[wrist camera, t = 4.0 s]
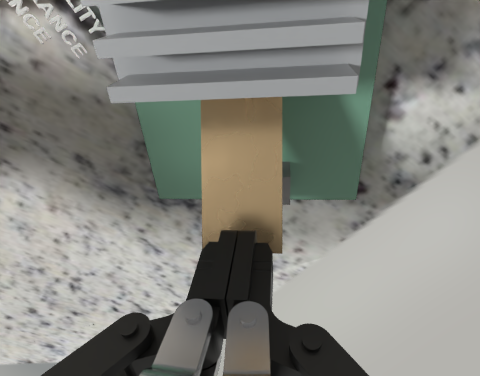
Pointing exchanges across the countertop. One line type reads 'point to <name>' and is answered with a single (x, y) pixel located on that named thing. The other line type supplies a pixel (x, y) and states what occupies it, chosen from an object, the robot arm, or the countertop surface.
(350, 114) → the board
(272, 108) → the strap
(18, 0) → the wide band ring
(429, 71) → the countertop surface
